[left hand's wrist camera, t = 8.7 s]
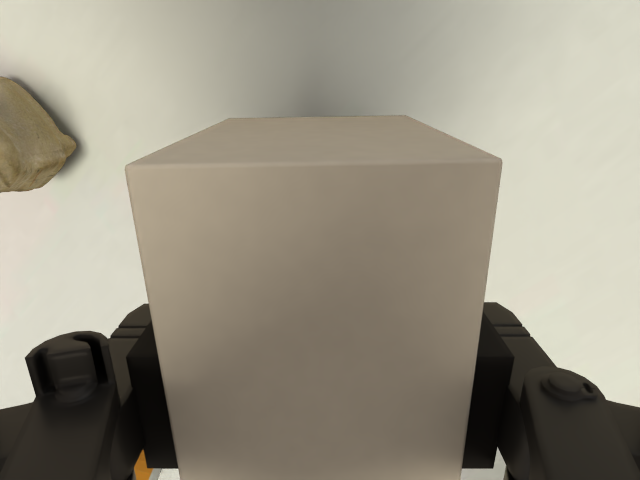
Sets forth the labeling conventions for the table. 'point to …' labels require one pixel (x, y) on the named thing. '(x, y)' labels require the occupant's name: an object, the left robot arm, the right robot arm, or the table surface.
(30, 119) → the sculpture
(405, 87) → the table surface
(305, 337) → the beam
